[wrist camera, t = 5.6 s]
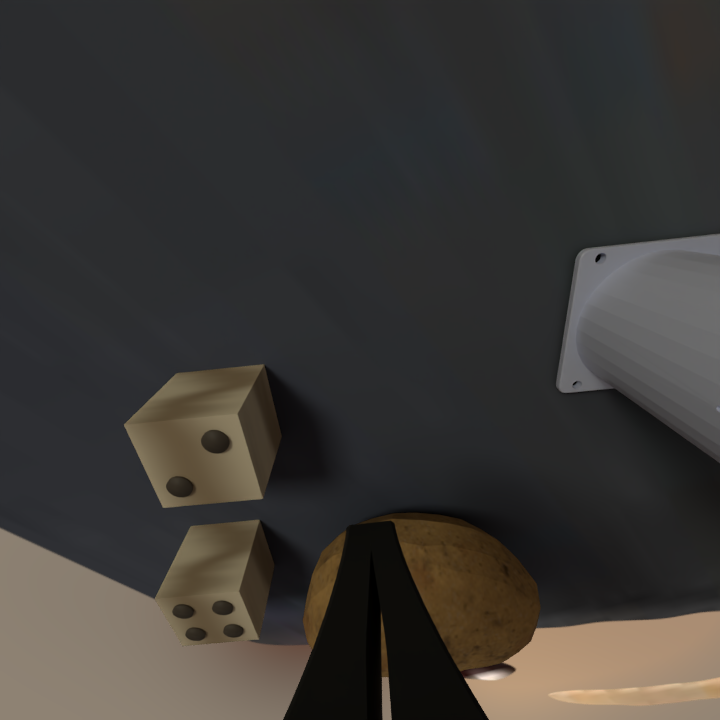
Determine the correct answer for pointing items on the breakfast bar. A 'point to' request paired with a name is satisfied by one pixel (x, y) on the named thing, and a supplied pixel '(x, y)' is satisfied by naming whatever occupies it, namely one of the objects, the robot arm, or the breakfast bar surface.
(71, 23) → the breakfast bar surface
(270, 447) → the pip block two
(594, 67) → the breakfast bar surface
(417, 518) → the potato
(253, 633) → the pip block four
